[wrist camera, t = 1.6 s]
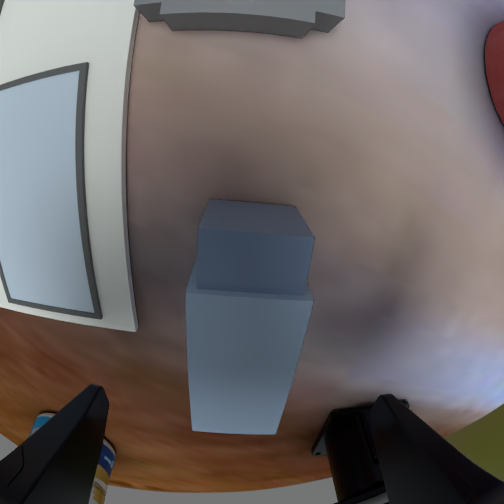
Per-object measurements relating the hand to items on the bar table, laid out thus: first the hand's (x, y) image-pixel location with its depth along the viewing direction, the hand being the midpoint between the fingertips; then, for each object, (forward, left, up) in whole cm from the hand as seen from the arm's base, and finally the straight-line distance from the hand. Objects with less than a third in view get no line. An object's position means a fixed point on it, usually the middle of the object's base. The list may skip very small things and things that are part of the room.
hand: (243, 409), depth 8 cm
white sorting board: (+8, +13, -6) cm, 16 cm away
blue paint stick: (0, 0, -6) cm, 6 cm away
